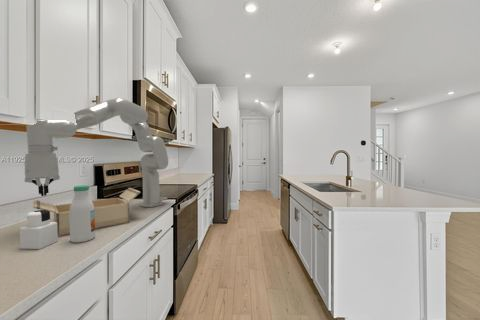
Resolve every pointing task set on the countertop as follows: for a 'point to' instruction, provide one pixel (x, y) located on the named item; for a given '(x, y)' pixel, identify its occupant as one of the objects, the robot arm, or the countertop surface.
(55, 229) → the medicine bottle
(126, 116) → the robot arm
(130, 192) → the flap
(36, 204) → the flap
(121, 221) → the carton
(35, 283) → the countertop surface
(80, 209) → the milk bottle
